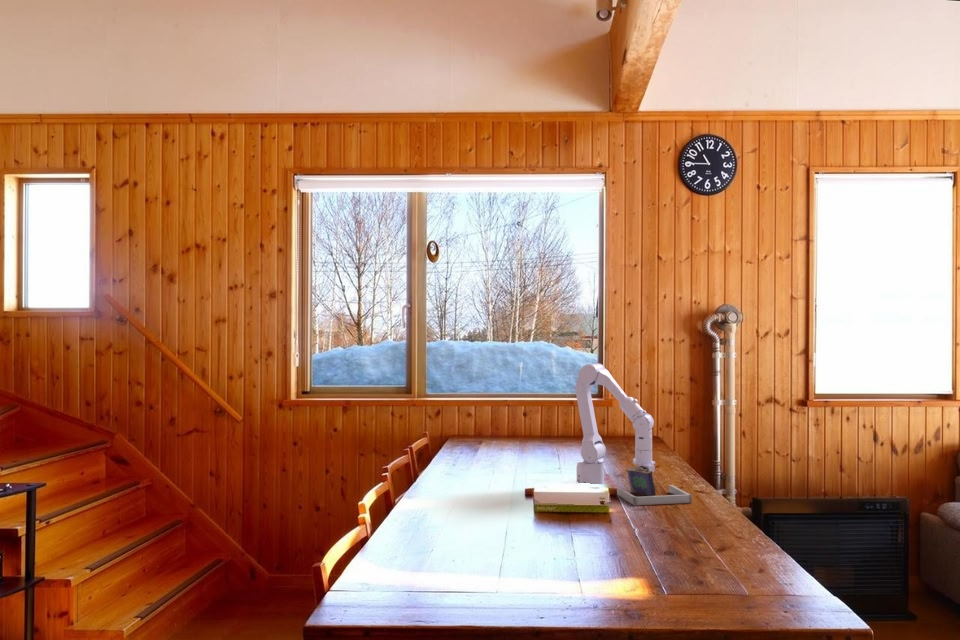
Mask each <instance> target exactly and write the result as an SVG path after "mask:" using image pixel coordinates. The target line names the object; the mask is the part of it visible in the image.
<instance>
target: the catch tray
mask: <svg viewBox="0 0 960 640" xmlns="http://www.w3.org/2000/svg"><path fill="white" fill-rule="evenodd" d="M616 493H617V496H619V497H620V498H622V499H623V500H625V501H626V502H628V503H630V504H631V505H633V506H651V505H652V506H653V505H669V504H670V505H671V504H672V505H673V504H692V503H693V502H692V500H693V499H692V494H690V493H689V492H686V491H684V490H683V489H681V488H678V487H677V486H675V485H673V484H669V485H668V493H670V494H668V495H667V494H666V495H655V496H648V495H645V496H644V495H642V496H635V495H634V494H632V493H631V492H629V491H628V490H625V489H624V488H623V487H621V486H618V487H617V489H616Z"/></svg>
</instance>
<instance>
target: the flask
mask: <svg viewBox="0 0 960 640" xmlns="http://www.w3.org/2000/svg"><path fill="white" fill-rule="evenodd" d="M640 465H641V464H638V465H636V466H635V467H628V468H627V469H626V472H627V476H628V482H629V483H628V484H629V487H630V489H629V490H630V493H631V494H632V493H633V494H637V495H642V496H644V495H645V496H657V493H656V486H655V483H654V477H653V472H651V471H650V472H649V471H648V469H643V468H642V467H640Z"/></svg>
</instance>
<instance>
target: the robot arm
mask: <svg viewBox="0 0 960 640" xmlns="http://www.w3.org/2000/svg"><path fill="white" fill-rule="evenodd" d="M577 375H578V376H577V379H576V383H575V386H574V389H575V390H574V391H575V395H576V396H575V397H576V401H577V407H578V412H579V418H580V419H579V420H580V424H581V429H582V433H583V437H582V440H581V450H580V455H581V458H582V459H583V461H581V462H580V461H579V462H577V464H576V483H577V482H578V483H590V484H604V485H605V467H604V466H605V459H604V457H605V456H606V454H607V448H606V445H605V444H604V442H603V439H602V437H601V435H600V434H599V432H598V430H599V429H598V425H597V420H596V415H595V413H596V412H595V409H594V404H593V398H592V393H591V390H592V389H593V388H594V386H595V385H599V386H603V387H605V388H606V389H607V390H608V392H609V393H611V394H612V395H613V397H614V398H615V399H616V400H617V401H618V402H619V409H621V411H622V412H623V414H624V415H626V417H627V418H628V419H629V421H630V422H631V423H632V428H633V429H634V430H635V435H634V436H635V437H634V439H635V440H634V442H635V445H634V451H635V452H634V455H635V457H634V458H633V457H632V464H633V465H636V466H638V464H641V465H640V467H642V468H643V469H648V471H649V472H650V471H651V472H652V473H654V472H655V471H656V466H655V465H656V461H655V460H653V429H652V428H654V425H655V420H654V418H653V416H652V415H651V414H650V413H647V411H646V410H644V409H643V408H642V407H641V406H640V404H639V403H638V402H639V400H638V399H637V398H634V397H633V396H628V395H627V394H626V393H625V391H624V390H623V389H622V388H621V386H620V385H619V384H618V382H617V381H616V380H615V379H614V377H613V376H612V374H611V373H610V371H609V370H608V369H606V367H605V366H604V365H603V364H602V363H600V362H595V363H593V364H592V363H591V364H587V363H586V364H584V365H583V366H582V367H581V368H580V370H579V371H578V374H577Z"/></svg>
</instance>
